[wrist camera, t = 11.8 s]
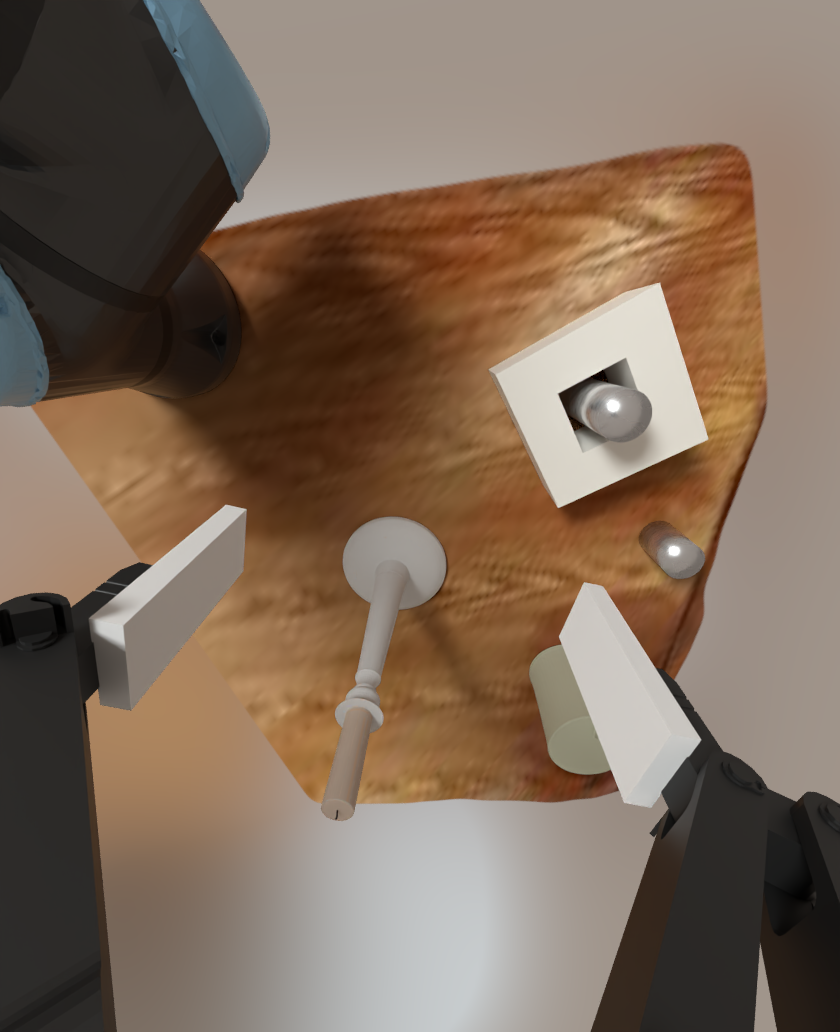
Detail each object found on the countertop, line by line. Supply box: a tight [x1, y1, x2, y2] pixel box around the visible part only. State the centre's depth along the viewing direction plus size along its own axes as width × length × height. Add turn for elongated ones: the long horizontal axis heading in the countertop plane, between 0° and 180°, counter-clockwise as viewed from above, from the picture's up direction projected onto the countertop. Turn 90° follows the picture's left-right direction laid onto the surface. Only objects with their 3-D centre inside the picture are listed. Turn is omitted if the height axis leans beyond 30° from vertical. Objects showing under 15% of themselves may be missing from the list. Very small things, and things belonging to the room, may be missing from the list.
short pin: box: [639, 521, 705, 579], centre depth 45 cm, size 4×4×6 cm
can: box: [529, 645, 611, 775], centre depth 51 cm, size 9×9×12 cm
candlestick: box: [321, 517, 446, 821], centre depth 38 cm, size 13×13×30 cm
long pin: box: [559, 378, 652, 443], centre depth 37 cm, size 4×4×12 cm
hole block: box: [488, 283, 708, 508], centre depth 40 cm, size 14×14×7 cm
